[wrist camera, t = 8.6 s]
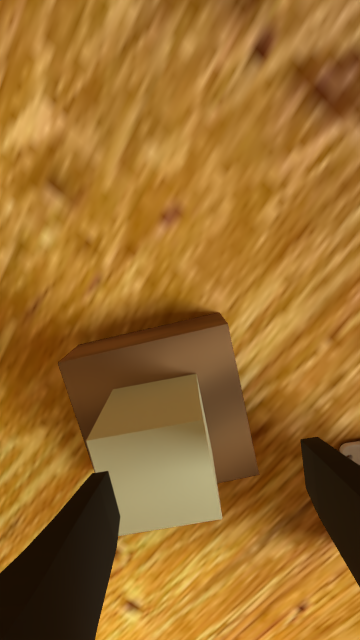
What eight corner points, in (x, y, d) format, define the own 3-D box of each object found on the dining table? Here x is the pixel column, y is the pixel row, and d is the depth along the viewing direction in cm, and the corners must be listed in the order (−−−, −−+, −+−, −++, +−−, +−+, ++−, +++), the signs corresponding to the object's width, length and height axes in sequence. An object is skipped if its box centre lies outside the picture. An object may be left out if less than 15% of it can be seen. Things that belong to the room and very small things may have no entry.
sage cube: (211, 448, 18) (222, 519, 13) (132, 462, 18) (114, 536, 14) (196, 373, 17) (202, 420, 12) (112, 389, 17) (86, 440, 13)
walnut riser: (245, 437, 23) (259, 474, 19) (118, 464, 23) (106, 506, 19) (218, 311, 21) (227, 323, 17) (80, 343, 21) (57, 362, 17)
